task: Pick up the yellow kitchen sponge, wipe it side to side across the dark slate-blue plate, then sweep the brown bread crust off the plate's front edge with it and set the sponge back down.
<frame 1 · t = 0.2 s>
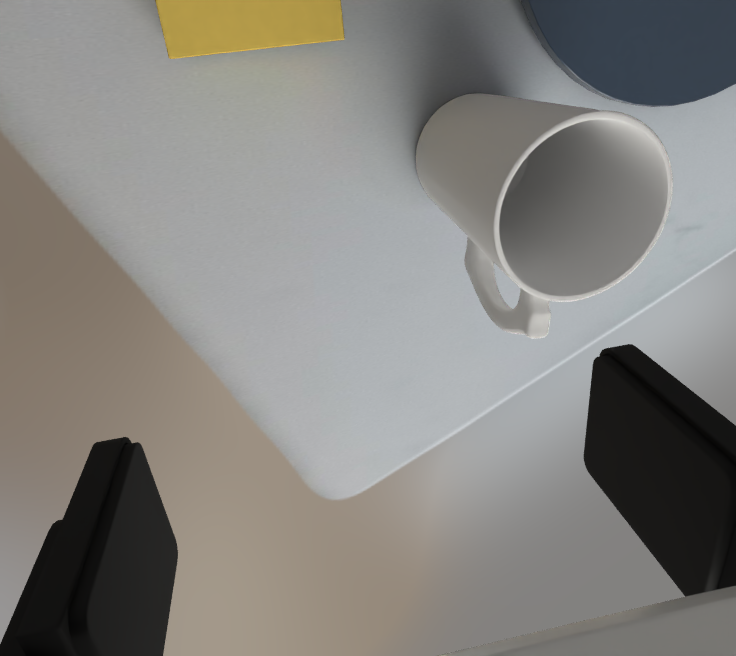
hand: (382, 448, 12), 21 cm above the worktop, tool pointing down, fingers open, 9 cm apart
mug: (464, 184, 31), on the worktop
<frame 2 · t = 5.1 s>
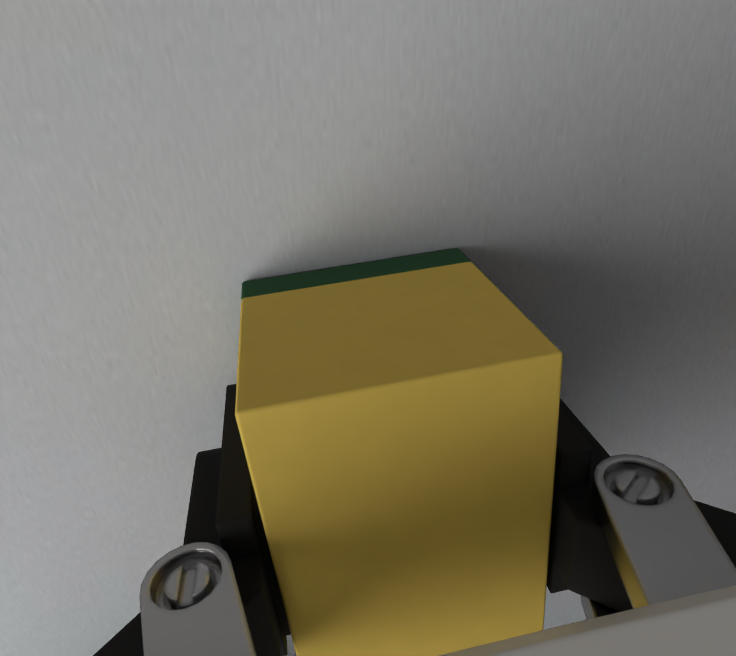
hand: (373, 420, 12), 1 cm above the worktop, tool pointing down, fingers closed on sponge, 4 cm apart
sponge: (369, 406, 13), on the worktop, touching gripper
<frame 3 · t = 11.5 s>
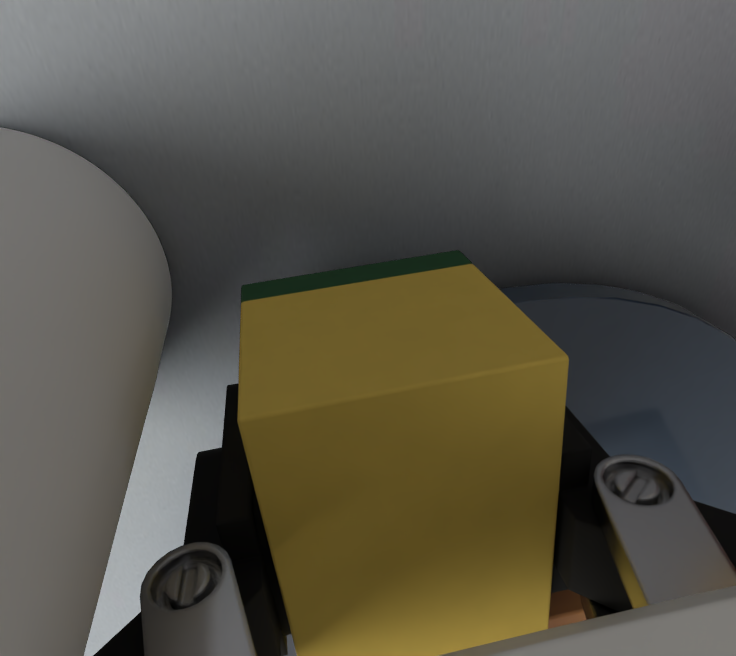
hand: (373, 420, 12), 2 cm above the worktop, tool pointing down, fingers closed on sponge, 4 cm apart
plate: (492, 540, 18), on the worktop
sponge: (369, 410, 13), point 2 cm above the worktop, touching gripper
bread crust: (510, 623, 17), point 1 cm above the worktop, touching plate
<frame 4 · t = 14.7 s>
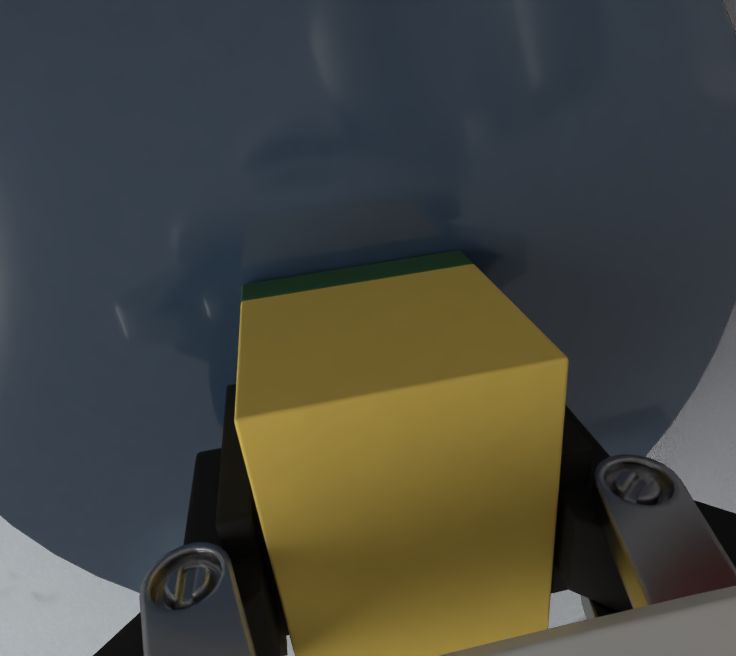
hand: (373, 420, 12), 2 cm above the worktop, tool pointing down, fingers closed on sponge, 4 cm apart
plate: (350, 298, 13), on the worktop
sponge: (370, 410, 13), point 2 cm above the worktop, touching gripper
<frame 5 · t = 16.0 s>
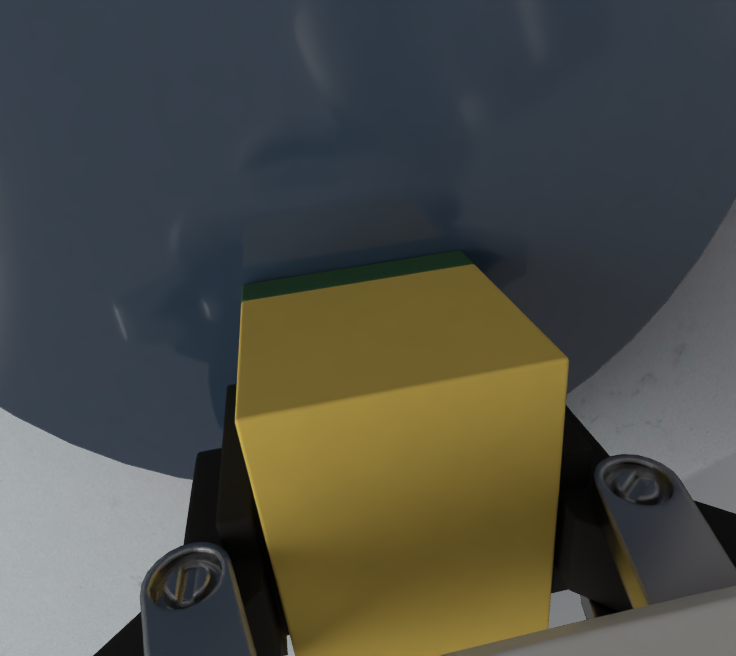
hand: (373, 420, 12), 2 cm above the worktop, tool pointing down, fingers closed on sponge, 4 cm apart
plate: (320, 74, 11), on the worktop
sponge: (370, 410, 13), point 2 cm above the worktop, touching gripper
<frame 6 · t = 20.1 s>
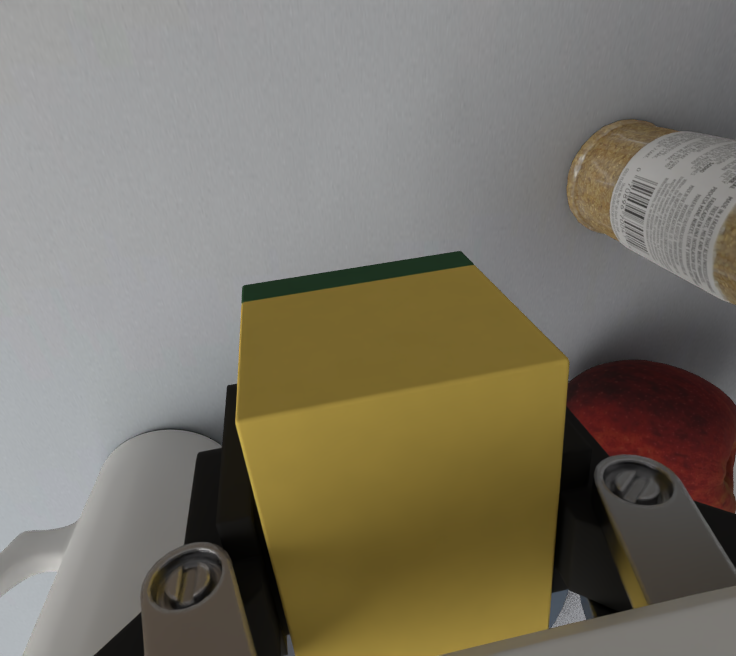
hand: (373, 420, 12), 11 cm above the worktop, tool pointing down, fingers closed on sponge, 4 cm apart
apple: (588, 397, 28), on the worktop
plate: (408, 590, 32), on the worktop
mug: (135, 481, 26), on the worktop
sponge: (371, 411, 13), point 11 cm above the worktop, touching gripper
sprinkles bottle: (611, 174, 23), on the worktop
when the fingers open (0 cm above the worktop, at t = 22.9 s): sponge stays where it is, on the worktop.
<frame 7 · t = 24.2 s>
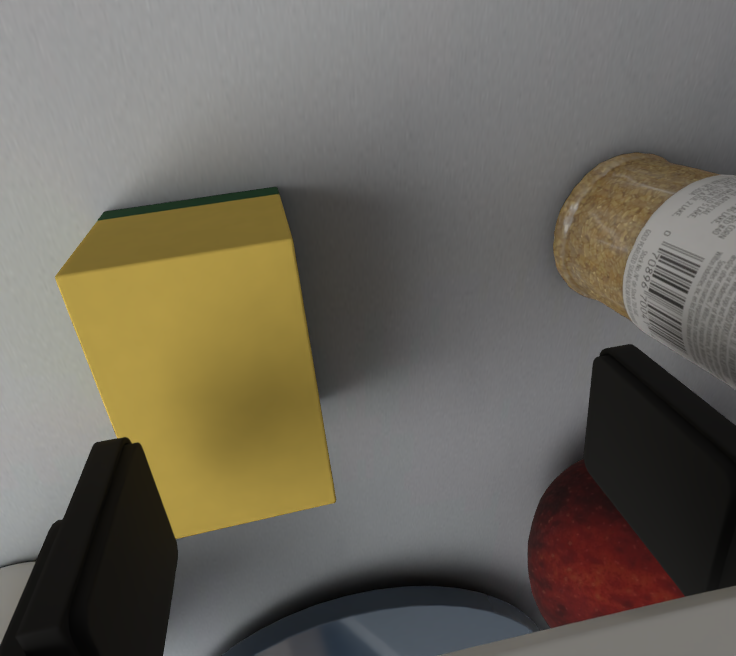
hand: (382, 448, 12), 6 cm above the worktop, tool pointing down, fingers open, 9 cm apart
apple: (579, 484, 23), on the worktop
sponge: (221, 318, 16), on the worktop
sprinkles bottle: (608, 222, 17), on the worktop
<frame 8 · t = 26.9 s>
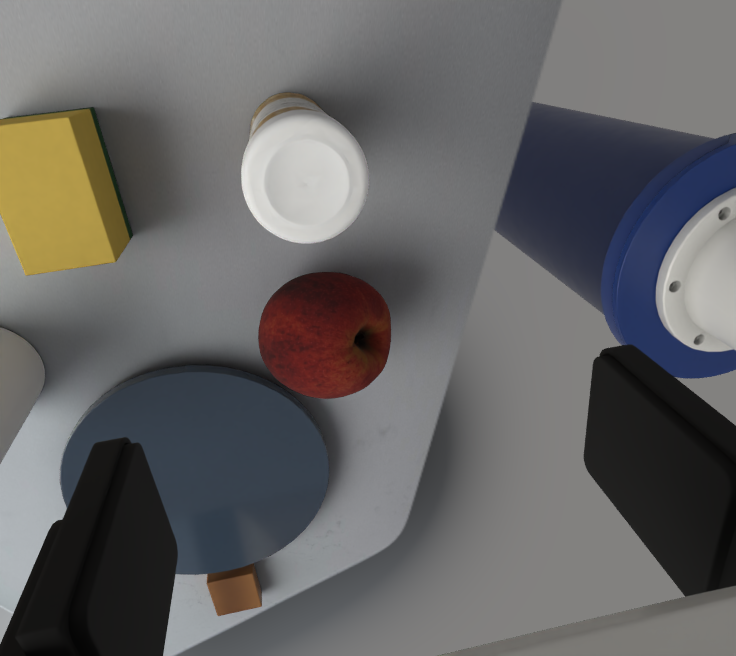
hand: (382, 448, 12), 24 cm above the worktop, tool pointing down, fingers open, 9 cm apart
apple: (318, 308, 37), on the worktop
plate: (202, 468, 41), on the worktop
sponge: (73, 180, 31), on the worktop
sprinkles bottle: (289, 133, 32), on the worktop
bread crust: (235, 580, 46), on the worktop
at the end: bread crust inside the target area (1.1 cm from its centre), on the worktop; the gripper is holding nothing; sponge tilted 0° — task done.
